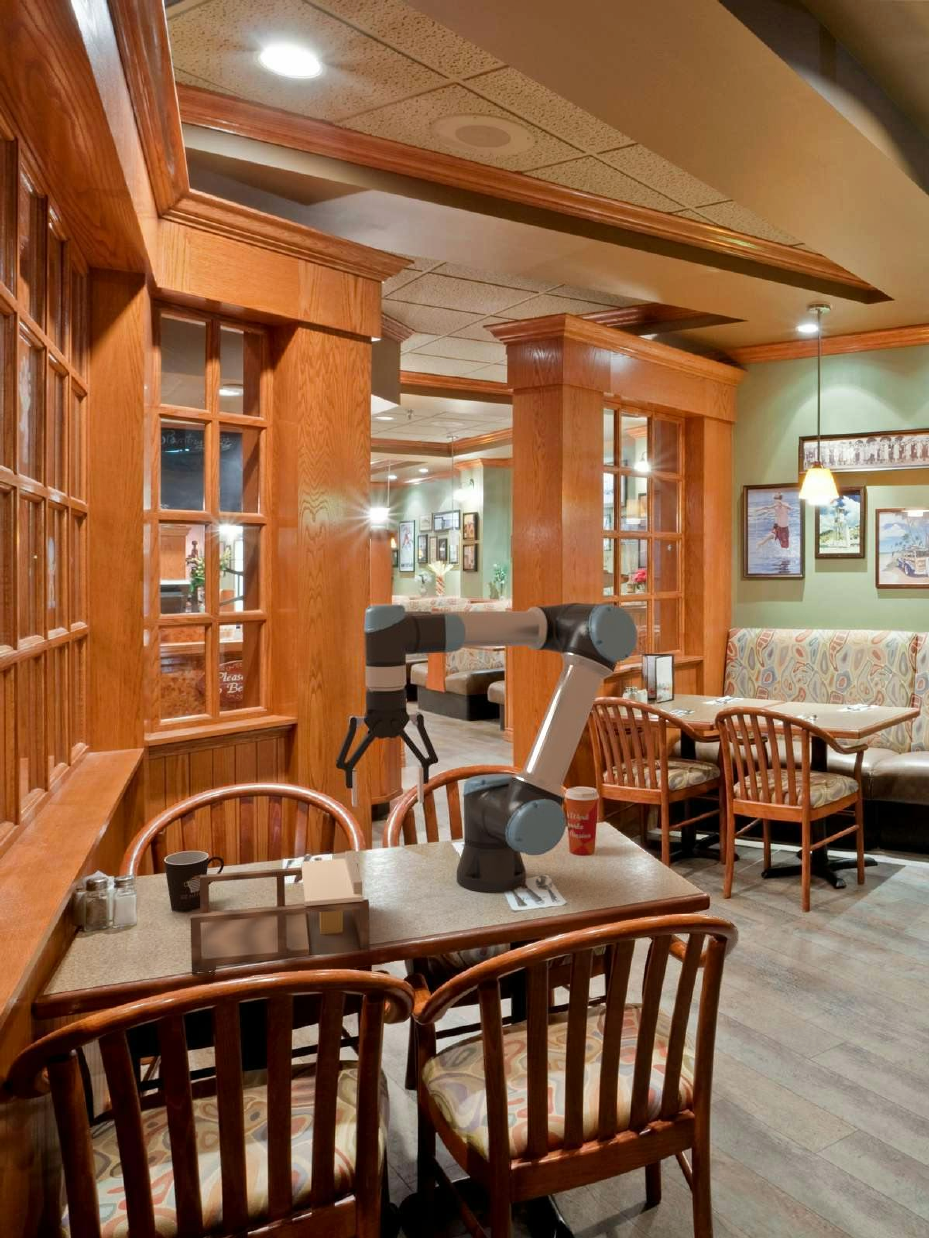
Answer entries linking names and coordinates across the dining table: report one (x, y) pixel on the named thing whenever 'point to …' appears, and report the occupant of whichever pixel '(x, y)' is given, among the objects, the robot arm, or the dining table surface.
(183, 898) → the coffee mug
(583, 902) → the dining table surface
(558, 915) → the dining table surface
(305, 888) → the lid
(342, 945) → the wooden organizer rack
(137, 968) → the dining table surface
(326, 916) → the block
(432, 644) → the robot arm
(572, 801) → the coffee cup
